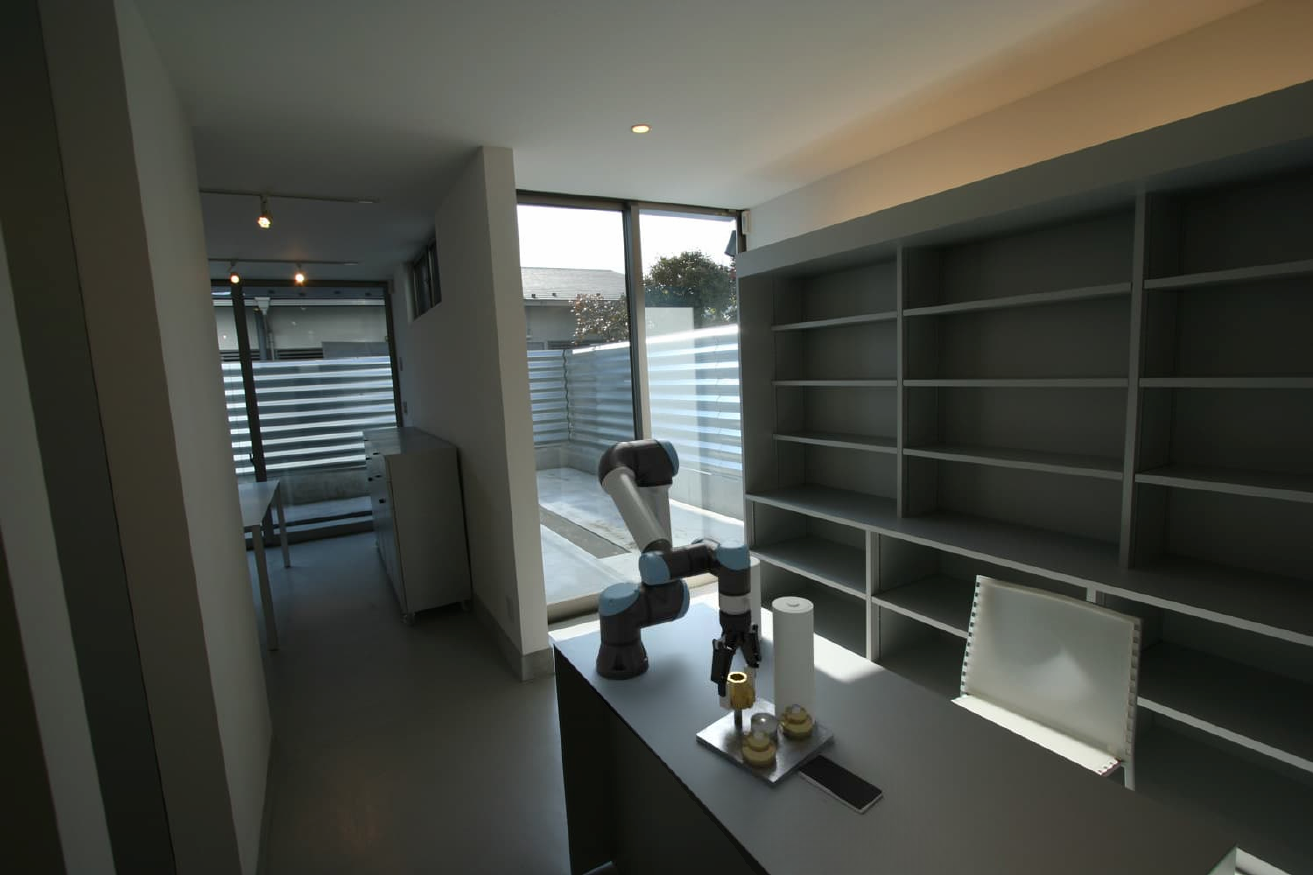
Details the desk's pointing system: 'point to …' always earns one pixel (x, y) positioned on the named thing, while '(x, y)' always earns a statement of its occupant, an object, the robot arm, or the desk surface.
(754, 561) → the tall pillar cylinder
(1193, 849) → the desk surface
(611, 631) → the robot arm
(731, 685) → the gear
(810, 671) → the cylinder container
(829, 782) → the smartphone
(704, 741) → the plate
